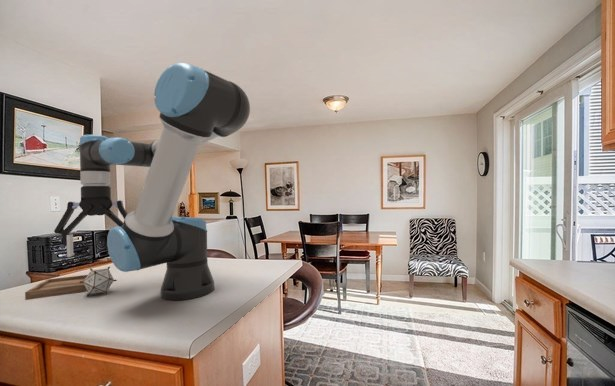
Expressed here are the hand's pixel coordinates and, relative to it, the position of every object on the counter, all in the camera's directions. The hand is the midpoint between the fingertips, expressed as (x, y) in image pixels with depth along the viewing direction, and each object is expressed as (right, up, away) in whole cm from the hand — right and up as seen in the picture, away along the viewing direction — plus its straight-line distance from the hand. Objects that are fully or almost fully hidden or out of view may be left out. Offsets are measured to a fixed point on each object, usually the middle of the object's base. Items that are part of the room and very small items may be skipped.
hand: (97, 253), depth 89 cm
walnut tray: (-15, -13, +6) cm, 21 cm away
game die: (+1, -13, 0) cm, 13 cm away
